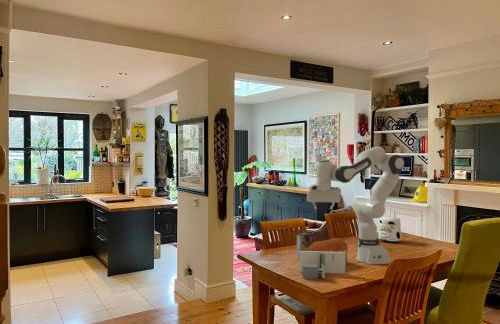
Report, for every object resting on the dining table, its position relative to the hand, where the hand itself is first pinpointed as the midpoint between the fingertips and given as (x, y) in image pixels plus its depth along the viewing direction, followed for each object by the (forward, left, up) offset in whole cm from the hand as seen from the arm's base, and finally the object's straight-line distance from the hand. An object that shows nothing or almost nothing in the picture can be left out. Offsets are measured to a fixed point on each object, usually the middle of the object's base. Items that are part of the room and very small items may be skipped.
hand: (323, 209), depth 226 cm
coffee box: (+10, -14, -34) cm, 38 cm away
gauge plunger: (+8, +22, -33) cm, 41 cm away
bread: (-3, -2, -34) cm, 35 cm away
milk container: (-61, -72, -34) cm, 100 cm away
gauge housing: (+2, +21, -34) cm, 40 cm away
